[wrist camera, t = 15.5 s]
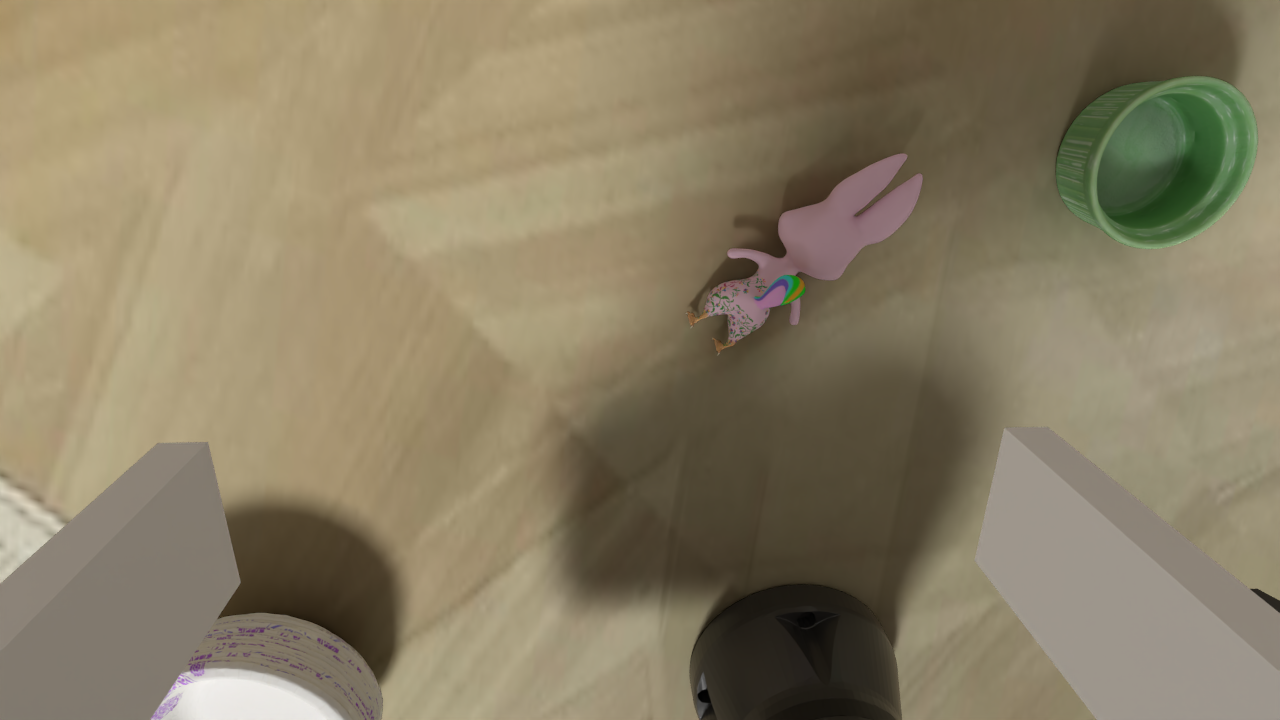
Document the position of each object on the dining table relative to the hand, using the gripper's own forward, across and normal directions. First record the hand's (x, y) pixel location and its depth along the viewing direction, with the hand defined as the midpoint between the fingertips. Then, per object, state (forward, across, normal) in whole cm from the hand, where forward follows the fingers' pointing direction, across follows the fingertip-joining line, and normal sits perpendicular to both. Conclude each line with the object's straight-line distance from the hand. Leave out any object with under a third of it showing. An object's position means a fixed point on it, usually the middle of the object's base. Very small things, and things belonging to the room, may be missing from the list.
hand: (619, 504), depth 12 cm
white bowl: (+32, +23, +34) cm, 52 cm away
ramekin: (+32, -30, -2) cm, 44 cm away
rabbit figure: (+32, -12, +3) cm, 34 cm away
